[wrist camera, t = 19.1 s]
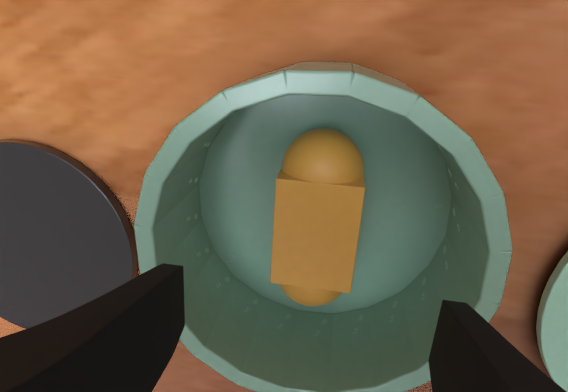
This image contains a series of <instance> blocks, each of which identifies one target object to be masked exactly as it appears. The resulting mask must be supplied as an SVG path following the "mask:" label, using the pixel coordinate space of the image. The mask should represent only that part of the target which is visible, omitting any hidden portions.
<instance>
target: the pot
mask: <svg viewBox="0 0 568 392" xmlns="http://www.w3.org/2000/svg"><path fill="white" fill-rule="evenodd" d="M314 129H332V130H336V131H338V132H341V133H343V134H344V135H346V136H348V137H349V138H350V139H351V140H352V141H353V142H354V143H355V144H356V146H357V147H358V149H359V151H360V152H361V155H362V158H363V162H364V181H365V195H364V203H363V210H362V217H361V224H360V231H359V238H358V245H357V252H356V260H355V267H354V274H353V281H352V288H351V293H344V292H342V294H341V295H340V296H339V297H338V298H336V299H335V300H334V301H332V302H330V303H328V304H325V305H322V306H305V305H302V304H299V303H297V302H295V301H293V300H292V299H290V298H289V297H288V296H287V295H286V294H285V293H284V291H283V290H282V289H281V287H280V285H279V284H275V283H270V273H271V256H272V238H273V221H274V204H275V186H276V178H277V176H278V174H279V172H280V170H281V168H282V162H283V158H284V155H285V152H286V150H287V149H288V147H289V146H290V144H291V143H292V142H293V141H294V140H295V139H296V138H297V137H299V136H300V135H302V134H303V133H305V132H308V131H310V130H314ZM134 224H135V225H134V231H135V239H136V247H137V254H138V262H139V270H140V273H141V274H143V273H145V272H146V271H148V270H150V269H152V268H154V267H156V266H158V265H160V264H163V263H165V264H173V265H180V266H183V270H184V309H185V326H184V329H183V331H182V334H181V336H180V339H179V340H180V341H181V342H182V343H183V345H184V346H185V347H186V348H187V349H188V350H189V352H190V353H191V354H192V355H194V356H195V357H196V358H198V359H199V360H200V361H202V362H203V363H205V364H206V365H208V366H209V367H211V368H212V369H214V370H215V371H217V372H218V373H220V374H221V375H223V376H224V377H226V378H227V379H228V380H230V381H231V382H235V384H237V385H240V386H242V387H245V388H248V389H250V390H253V391H256V392H405V391H407V390H410V389H412V388H415V387H417V386H420V385H422V384H425V383H427V382H429V380H430V381H431V377H430V370H429V362H428V360H429V356H430V351H431V347H432V343H433V338H434V334H435V330H436V326H437V321H438V317H439V313H440V308H441V304H442V300H449V301H457V302H464V303H467V304H468V305H470V306H471V307H472V308H473V309H474V310H475V311H476V312H477V313H478V314H480V315H481V316H482V317H483V318H484V319H485V320H486V321H487V322H488V323H489V321H490V320H491V318H492V317H493V315H494V314H495V312H496V311H497V309H498V308H499V304H500V303H501V300H502V296H503V292H504V287H505V283H506V278H507V274H508V270H509V265H510V261H511V257H512V242H511V235H510V229H509V222H508V216H507V209H506V203H505V196H504V194H503V190H502V188H501V187H500V185H499V183H498V181H497V180H496V178H495V176H494V175H493V173H492V171H491V169H490V168H489V166H488V164H487V163H486V161H485V159H484V157H483V156H482V154H481V152H480V151H479V149H478V147H477V145H476V144H475V142H474V140H472V138H471V137H470V136H469V135H468V134H467V133H465V132H464V131H463V130H462V129H461V128H459V127H458V126H457V125H456V124H454V123H453V122H452V121H451V120H450V119H448V118H447V117H446V116H445V115H443V114H442V113H441V112H440V111H439V110H437V109H436V108H435V107H434V106H432V105H431V104H430V103H429V102H428V101H426V100H425V99H424V98H423V97H421V96H420V95H419V94H417V93H416V92H415V91H413V90H412V89H411V88H409V87H408V86H407V85H405V84H404V83H403V82H401V81H400V80H398V79H396V78H393V77H390V76H387V75H385V74H382V73H380V72H377V71H375V70H372V69H369V68H365V67H363V66H360V65H357V64H354V63H352V64H351V63H349V62H298V63H295V64H292V65H289V66H286V67H283V68H280V69H276V70H274V71H270V72H267V73H264V74H261V75H258V76H255V77H253V78H250V79H248V80H246V81H243V82H241V83H238V84H236V85H233V86H231V87H228V88H226V89H224V90H222V91H220V92H219V93H217V94H216V95H215V96H213V97H212V98H211V99H209V100H208V101H207V102H206V103H204V104H203V105H202V106H200V107H199V108H198V109H196V110H195V111H194V112H192V113H191V114H190V115H189V116H187V117H186V118H185V119H183V120H182V121H181V122H179V123H178V124H177V125H176V126H175V128H173V129H172V131H171V132H170V134H169V136H168V137H167V139H166V140H165V142H164V143H163V145H162V147H161V148H160V150H159V151H158V153H157V154H156V156H155V158H154V159H153V161H152V162H151V164H150V165H149V167H148V169H147V170H146V173H145V175H144V179H143V183H142V188H141V193H140V197H139V202H138V207H137V211H136V216H135V221H134Z"/></svg>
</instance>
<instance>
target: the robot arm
mask: <svg viewBox="0 0 568 392" xmlns="http://www.w3.org/2000/svg"><path fill="white" fill-rule="evenodd" d="M184 326H185V309H184V270H183V266H180V265H173V264H165V263H163V264H160V265H158V266H156V267H154V268H152V269H150V270H148V271H146V272H145V273H143V274H141V275H139V276H137V277H135V278H134V279H132V280H130V281H128V282H126V283H124V284H123V285H121V286H119V287H117V288H115V289H113V290H112V291H110V292H108V293H106V294H104V295H102V296H100V297H98V298H96V299H94V300H92V301H90V302H88V303H86V304H84V305H82V306H80V307H78V308H75V309H73V310H71V311H69V312H67V313H65V314H63V315H60V316H58V317H56V318H53V319H51V320H48V321H46V322H43V323H41V324H38V325H36V326H33V327H31V328H28V329H25V330H23V331H20V332H17V333H14V334H11V335H7V336H4V337H1V338H0V392H152V390H153V389H154V387H155V385H156V383H157V382H158V380H159V378H160V377H161V375H162V373H163V371H164V370H165V368H166V366H167V364H168V363H169V361H170V359H171V357H172V355H173V353H174V351H175V348H176V346H177V344H178V341H179V339H180V336H181V334H182V331H183V329H184ZM428 362H429V370H430V377H431V384H432V391H433V392H567V391H565V390H564V389H563V388H562V387H560V386H559V385H558V384H557V383H555V382H554V381H553V380H552V379H551V378H549V377H548V376H547V375H546V374H545V373H543V372H542V371H541V370H540V369H538V368H537V367H536V366H535V365H534V364H533V363H532V362H530V361H529V360H528V359H527V358H526V357H525V356H524V355H522V354H521V353H520V352H519V351H518V350H517V349H516V348H515V347H514V346H513V345H511V344H510V343H509V342H508V341H507V340H506V339H505V338H504V337H503V336H502V335H501V334H500V333H499V332H498V331H496V330H495V329H494V328H493V327H492V326H491V325H490V324H489V323H488V322H487V321H486V320H485V319H484V318H483V317H482V316H481V315H480V314H478V313H477V312H476V311H475V310H474V309H473V308H472V307H471V306H470V305H468V304H467V303H464V302H457V301H449V300H442V304H441V308H440V313H439V317H438V321H437V326H436V330H435V334H434V338H433V343H432V347H431V351H430V356H429V360H428Z"/></svg>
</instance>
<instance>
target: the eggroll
mask: <svg viewBox="0 0 568 392" xmlns="http://www.w3.org/2000/svg"><path fill="white" fill-rule="evenodd" d="M364 195H365V181H364V162H363V158H362V155H361V152H360V151H359V149H358V147H357V146H356V144H355V143H354V142H353V141H352V140H351V139H350V138H349V137H348V136H346V135H344V134H343V133H341V132H338V131H336V130H332V129H314V130H310V131H308V132H305V133H303V134H302V135H300V136H299V137H297V138H296V139H295V140H294V141H293V142H292V143H291V144H290V146H289V147H288V149H287V150H286V152H285V155H284V158H283V162H282V168H281V170H280V172H279V174H278V176H277V178H276V186H275V204H274V221H273V238H272V256H271V273H270V283H275V284H279V285H280V287H281V289H282V290H283V291H284V293H285V294H286V295H287V296H288V297H289V298H290V299H292V300H293V301H295V302H297V303H299V304H302V305H305V306H322V305H325V304H328V303H330V302H332V301H334V300H335V299H336V298H338V297H339V296H340V295H341V294H342V292H344V293H351V288H352V281H353V274H354V267H355V260H356V252H357V245H358V238H359V231H360V224H361V217H362V210H363V203H364Z"/></svg>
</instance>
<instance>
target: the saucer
mask: <svg viewBox="0 0 568 392" xmlns="http://www.w3.org/2000/svg"><path fill="white" fill-rule="evenodd" d="M137 270H138V254H137V247H136V240H135V237H134V233H133V229H132V227H131V225H130V222H129V220H128V217H127V215H126V214H125V212H124V210H123V208H122V206H121V205H120V203H119V202H118V200H117V199H116V197H115V196H114V195H113V193H112V192H111V191H110V190H109V188H108V187H107V186H106V185H105V184H104V183H103V182H102V181H101V180H100V179H99V178H98V177H97V176H96V175H95V174H94V173H93V172H92V171H91V170H89V169H88V168H87V167H85V166H84V165H82V164H81V163H80V162H78V161H77V160H75V159H74V158H72V157H70V156H68V155H67V154H65V153H63V152H61V151H58V150H56V149H54V148H51V147H49V146H45V145H42V144H39V143H35V142H30V141H24V140H0V317H2V318H3V319H5V320H7V321H9V322H11V323H13V324H15V325H18V326H20V327H23V328H26V329H28V328H31V327H33V326H36V325H38V324H41V323H43V322H46V321H48V320H51V319H53V318H56V317H58V316H60V315H63V314H65V313H67V312H69V311H71V310H73V309H75V308H78V307H80V306H82V305H84V304H86V303H88V302H90V301H92V300H94V299H96V298H98V297H100V296H102V295H104V294H106V293H108V292H110V291H112V290H113V289H115V288H117V287H119V286H121V285H123V284H124V283H126V282H128V281H130V280H132V279H134V278H135V277H136V276H137Z"/></svg>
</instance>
